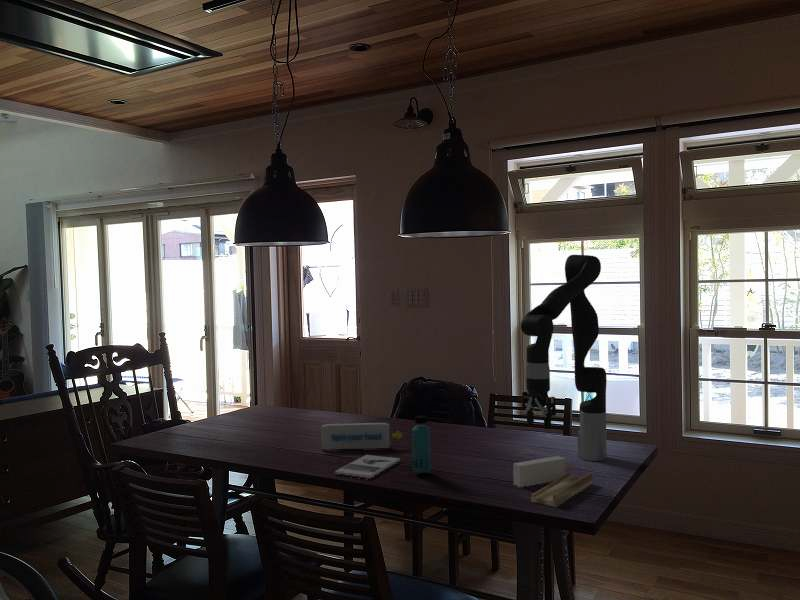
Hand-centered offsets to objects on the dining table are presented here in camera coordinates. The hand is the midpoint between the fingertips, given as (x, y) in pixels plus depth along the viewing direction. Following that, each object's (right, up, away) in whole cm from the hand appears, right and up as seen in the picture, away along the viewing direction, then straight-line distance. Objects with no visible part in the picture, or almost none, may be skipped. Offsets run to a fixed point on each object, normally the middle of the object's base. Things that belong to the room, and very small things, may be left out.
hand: (538, 426), depth 208 cm
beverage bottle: (-37, -19, +11) cm, 43 cm away
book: (-56, -20, +20) cm, 63 cm away
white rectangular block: (0, -18, 0) cm, 18 cm away
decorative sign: (-60, -19, +47) cm, 79 cm away
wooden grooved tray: (+5, -18, -11) cm, 22 cm away
